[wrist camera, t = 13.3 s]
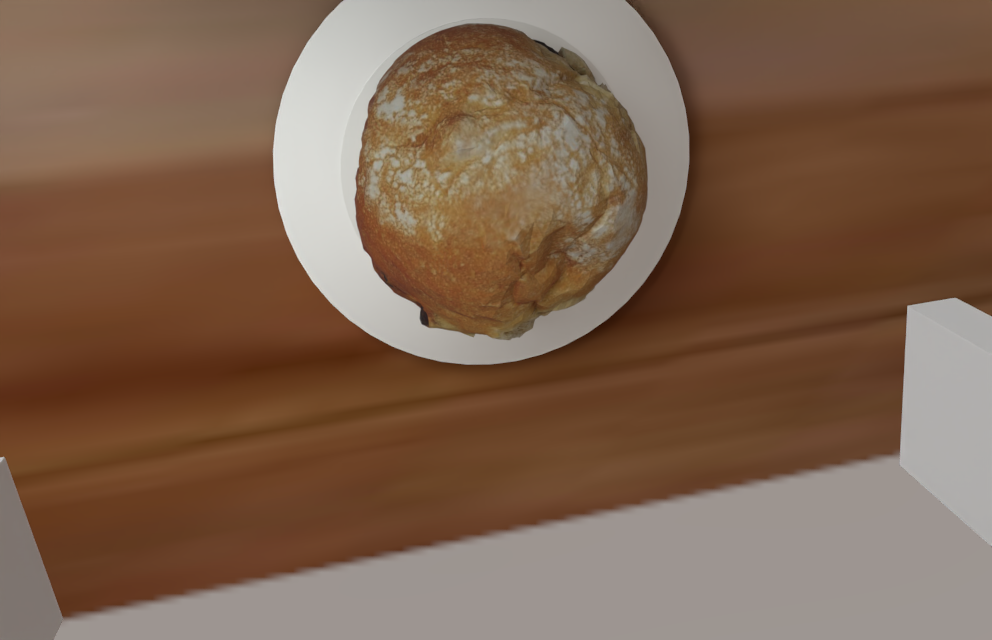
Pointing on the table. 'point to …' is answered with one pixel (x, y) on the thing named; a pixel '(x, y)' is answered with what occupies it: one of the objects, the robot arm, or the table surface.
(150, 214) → the table surface
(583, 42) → the plate
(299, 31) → the table surface
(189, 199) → the table surface
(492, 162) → the bread roll
